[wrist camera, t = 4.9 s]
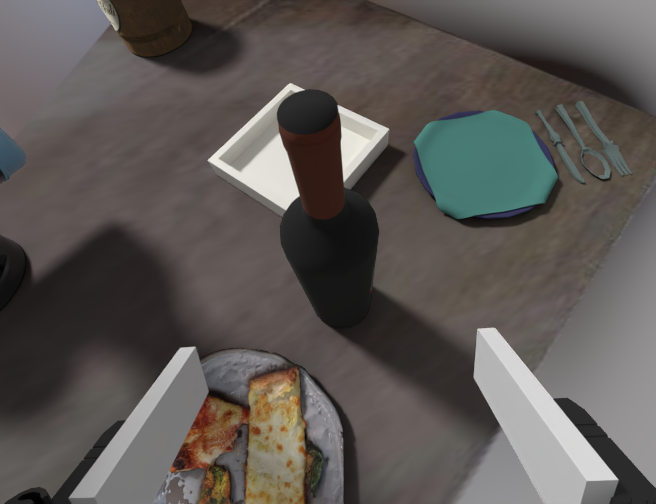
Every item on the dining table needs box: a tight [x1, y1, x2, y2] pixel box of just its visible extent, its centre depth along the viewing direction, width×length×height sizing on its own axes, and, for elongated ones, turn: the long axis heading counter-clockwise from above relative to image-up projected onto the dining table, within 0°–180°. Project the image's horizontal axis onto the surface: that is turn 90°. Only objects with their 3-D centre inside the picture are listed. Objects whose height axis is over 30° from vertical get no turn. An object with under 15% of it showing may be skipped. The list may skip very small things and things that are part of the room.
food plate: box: [153, 348, 344, 504], centre depth 33 cm, size 25×23×4 cm
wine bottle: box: [277, 89, 379, 328], centre depth 27 cm, size 8×8×30 cm
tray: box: [208, 83, 389, 217], centre depth 50 cm, size 20×20×4 cm
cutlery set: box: [414, 101, 632, 219], centre depth 47 cm, size 20×30×2 cm, turn 100°
